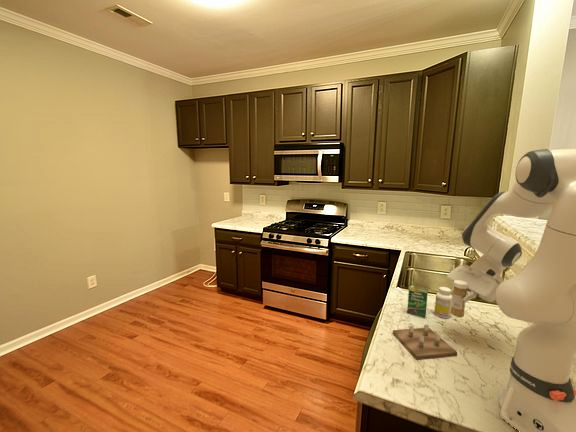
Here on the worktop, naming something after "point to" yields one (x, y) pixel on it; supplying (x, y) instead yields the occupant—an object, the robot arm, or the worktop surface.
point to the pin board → (424, 343)
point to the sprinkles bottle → (458, 298)
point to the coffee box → (417, 301)
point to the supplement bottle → (443, 303)
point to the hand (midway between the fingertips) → (457, 297)
